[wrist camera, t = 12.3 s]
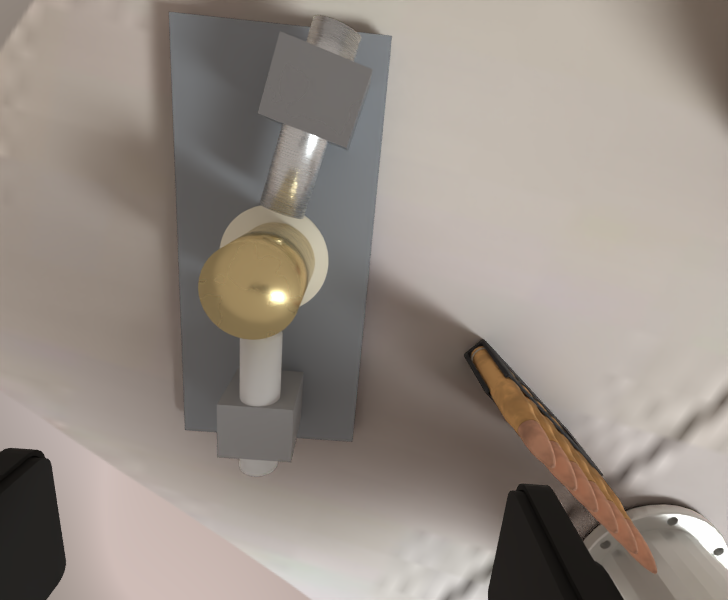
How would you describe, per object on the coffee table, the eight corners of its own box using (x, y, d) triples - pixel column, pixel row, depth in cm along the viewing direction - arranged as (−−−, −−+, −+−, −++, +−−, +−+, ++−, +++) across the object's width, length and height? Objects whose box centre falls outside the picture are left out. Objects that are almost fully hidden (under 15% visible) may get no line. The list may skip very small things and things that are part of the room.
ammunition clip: (462, 354, 31) (524, 466, 19) (482, 338, 31) (558, 441, 19) (549, 445, 33) (650, 592, 22) (569, 431, 33) (681, 573, 22)
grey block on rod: (325, 217, 26) (319, 228, 22) (256, 191, 26) (234, 197, 21) (378, 63, 24) (382, 39, 19) (302, 31, 23) (288, -2, 19)
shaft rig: (352, 429, 33) (351, 489, 27) (192, 418, 32) (154, 476, 26) (389, 43, 25) (399, 4, 19) (179, 20, 24) (121, -27, 18)
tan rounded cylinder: (316, 225, 26) (303, 246, 20) (312, 300, 28) (298, 343, 21) (237, 218, 26) (196, 237, 19) (238, 294, 28) (199, 335, 21)
